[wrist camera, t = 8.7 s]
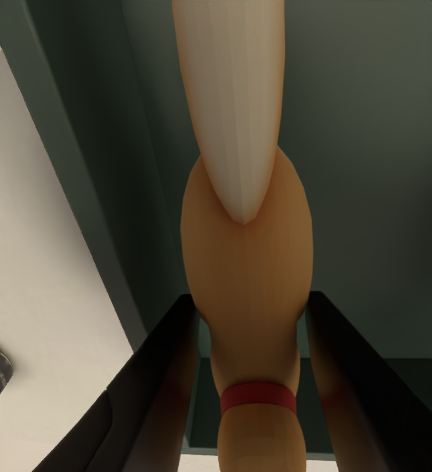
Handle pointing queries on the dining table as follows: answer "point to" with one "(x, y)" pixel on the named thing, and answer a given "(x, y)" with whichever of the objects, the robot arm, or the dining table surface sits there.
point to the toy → (245, 227)
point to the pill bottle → (4, 371)
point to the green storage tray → (289, 141)
